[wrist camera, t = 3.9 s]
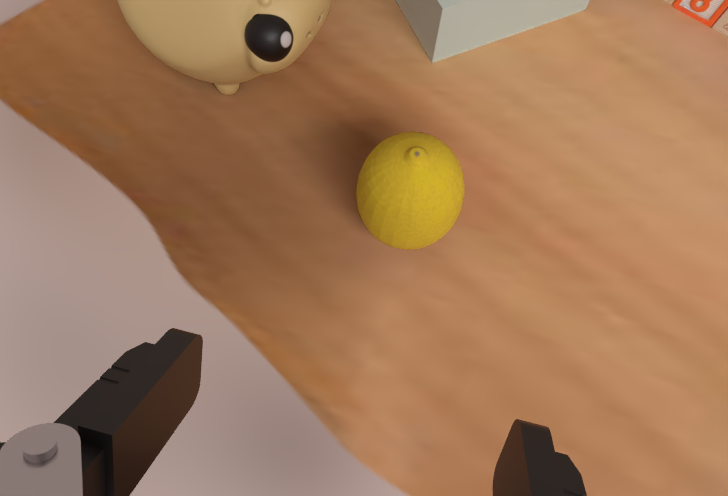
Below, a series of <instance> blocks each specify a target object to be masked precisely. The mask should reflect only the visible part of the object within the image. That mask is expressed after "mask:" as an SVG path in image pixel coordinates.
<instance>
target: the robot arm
mask: <svg viewBox="0 0 728 496" xmlns="http://www.w3.org/2000/svg"><path fill="white" fill-rule="evenodd" d="M202 345H203V340H202V337H201V335H198V334H194V333H190V332H186V331H182V330H178V329H175V328H172V329H170V330H168V331H167V332H166V333H165V334H164V336H163V337H162V338H161V339H160V340H159V341H158V342H157V343H156V344H155V345H154V344H151V343H147V342H145V343H143V344H141V345H139V346H137V347H135V348H133V349H131V350H129V351H127V352H125V353H124V354H123V355H122V356H121V357H120V358H119V359H118V360H117V361H116V362H115V363H114V364H113V365H112V367H111V369H108V370H107V371H106V372H105V373H104V374H103V375H102V376H101V377H100V379H99V380H97V381H96V382H95V383H94V384H93V385H92V386H91V387H89V388H88V390H87V391H86V392H84V393H83V394H82V395H81V397H79V398H78V399H77V400H76V402H74V403H73V404H72V405H71V406H70V407H69V408H68V409H67V410H66V411H65V412H64V413H63V414H62V415H61V416H60V417H59V418H58V419H57V420H56V421H55V422H54V423H46V424H40V425H36V426H32V427H29V428H27V429H25V430H23V431H21V432H19V433H17V434H15V435H14V436H13V437H11V438H10V439H9V440H8V441H7V442H4V443H0V496H129V495H130V494H131V492H132V491H133V490H134V488H135V487H136V485H137V484H138V482H139V481H140V480H141V478H142V477H143V475H144V474H145V473H146V471H147V470H148V468H149V467H150V465H151V464H152V463H153V461H154V460H155V458H156V457H157V456H158V454H159V453H160V451H161V450H162V448H163V447H164V446H165V444H166V442H167V441H168V440H169V438H170V437H171V436H172V434H173V433H174V431H175V430H176V428H177V427H178V425H179V424H180V423H181V421H182V420H183V418H184V417H185V416H186V414H187V413H188V411H189V410H190V408H191V407H192V405H193V403H194V401H195V399H196V396H197V394H198V391H199V387H200V378H201V361H202ZM493 496H587V495H586V491H585V487H584V484H583V480H582V476H581V474H580V473H579V471H578V470H577V468H576V467H575V465H574V464H573V462H572V461H571V459H570V458H569V457H568V455H565V454H562V453H558V452H555V450H554V446H553V441H552V437H551V433H550V430H549V428H548V427H546V426H542V425H538V424H534V423H530V422H526V421H523V420H519V419H516V420H515V421H514V423H513V425H512V427H511V430H510V432H509V434H508V437H507V439H506V442H505V444H504V447H503V449H502V452H501V454H500V457H499V459H498V462H497V464H496V468H495V472H494V478H493Z"/></svg>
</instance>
